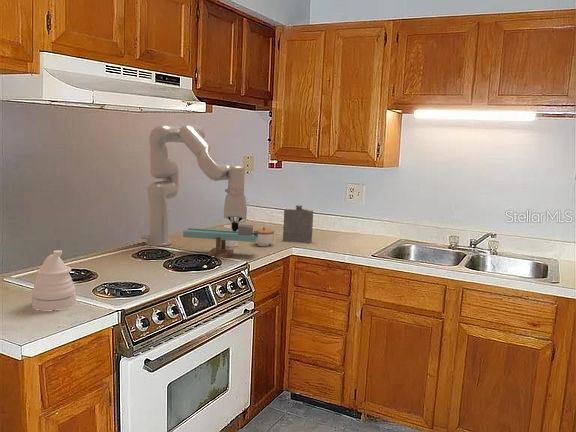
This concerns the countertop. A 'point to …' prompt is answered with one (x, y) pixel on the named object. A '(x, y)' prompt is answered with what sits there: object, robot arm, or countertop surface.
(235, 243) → the white cup
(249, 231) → the block
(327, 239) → the countertop surface
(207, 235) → the beam
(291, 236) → the hip flask
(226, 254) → the stand
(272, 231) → the lidded jar
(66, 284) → the honey pot
